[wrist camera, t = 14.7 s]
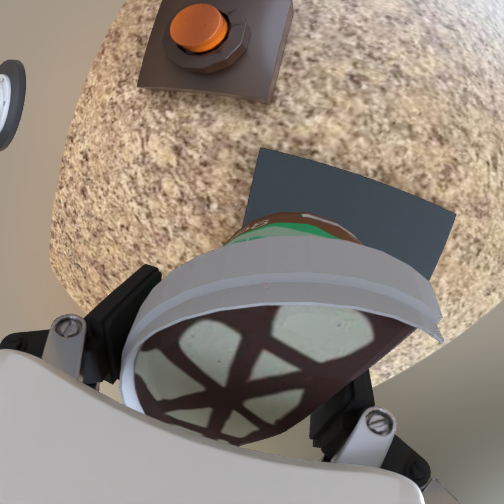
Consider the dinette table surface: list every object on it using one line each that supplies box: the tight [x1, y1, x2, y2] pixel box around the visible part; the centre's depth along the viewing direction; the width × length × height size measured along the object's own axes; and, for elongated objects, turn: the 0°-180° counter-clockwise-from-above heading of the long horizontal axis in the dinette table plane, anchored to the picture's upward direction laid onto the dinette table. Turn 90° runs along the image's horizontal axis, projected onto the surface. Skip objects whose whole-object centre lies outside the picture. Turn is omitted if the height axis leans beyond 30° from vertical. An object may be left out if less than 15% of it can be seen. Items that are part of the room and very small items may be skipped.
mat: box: [242, 148, 456, 281], centre depth 25 cm, size 20×16×1 cm
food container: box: [119, 212, 444, 447], centre depth 11 cm, size 12×6×10 cm, turn 145°
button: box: [170, 4, 228, 53], centre depth 15 cm, size 4×4×2 cm
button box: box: [137, 0, 294, 104], centre depth 18 cm, size 12×10×4 cm
